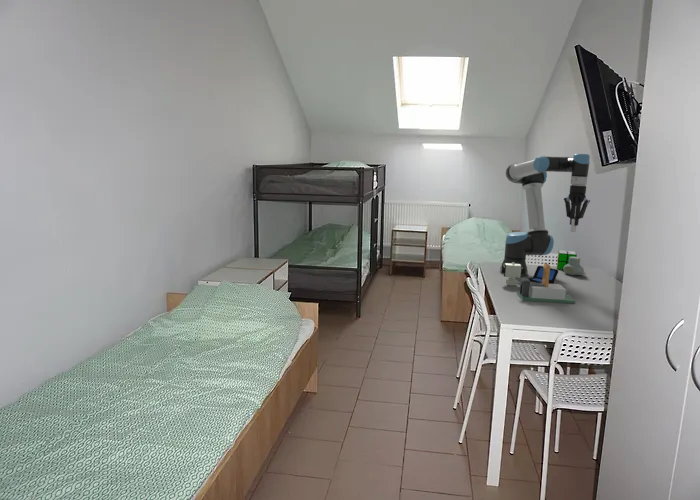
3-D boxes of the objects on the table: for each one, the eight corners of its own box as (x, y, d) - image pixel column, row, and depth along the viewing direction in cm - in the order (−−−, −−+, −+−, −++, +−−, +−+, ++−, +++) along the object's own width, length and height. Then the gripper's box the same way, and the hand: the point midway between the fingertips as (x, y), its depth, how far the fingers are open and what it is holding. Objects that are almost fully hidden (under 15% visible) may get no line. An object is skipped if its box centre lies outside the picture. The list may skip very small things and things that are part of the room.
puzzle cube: (574, 267, 333) (575, 251, 331) (574, 271, 323) (576, 254, 321) (556, 266, 336) (558, 250, 334) (557, 269, 327) (558, 252, 325)
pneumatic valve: (523, 286, 281) (525, 264, 278) (500, 285, 282) (502, 262, 280) (521, 284, 286) (524, 261, 284) (499, 282, 288) (501, 260, 286)
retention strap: (545, 284, 261) (547, 263, 259) (548, 286, 256) (550, 265, 254) (515, 282, 262) (517, 262, 260) (517, 285, 257) (519, 264, 255)
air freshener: (585, 275, 312) (587, 258, 310) (577, 277, 307) (579, 260, 305) (568, 271, 320) (570, 255, 319) (560, 273, 316) (562, 256, 314)
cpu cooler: (567, 296, 265) (569, 278, 263) (575, 303, 253) (577, 284, 251) (516, 293, 266) (518, 276, 265) (522, 300, 255) (524, 282, 253)
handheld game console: (525, 280, 295) (527, 267, 294) (536, 278, 302) (538, 265, 300) (546, 285, 286) (548, 272, 284) (557, 283, 292) (559, 269, 291)
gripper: (562, 184, 275) (557, 230, 279) (587, 186, 265) (581, 234, 269) (569, 183, 279) (564, 229, 284) (594, 185, 270) (589, 232, 274)
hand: (573, 231), depth 277 cm, fingers closed
